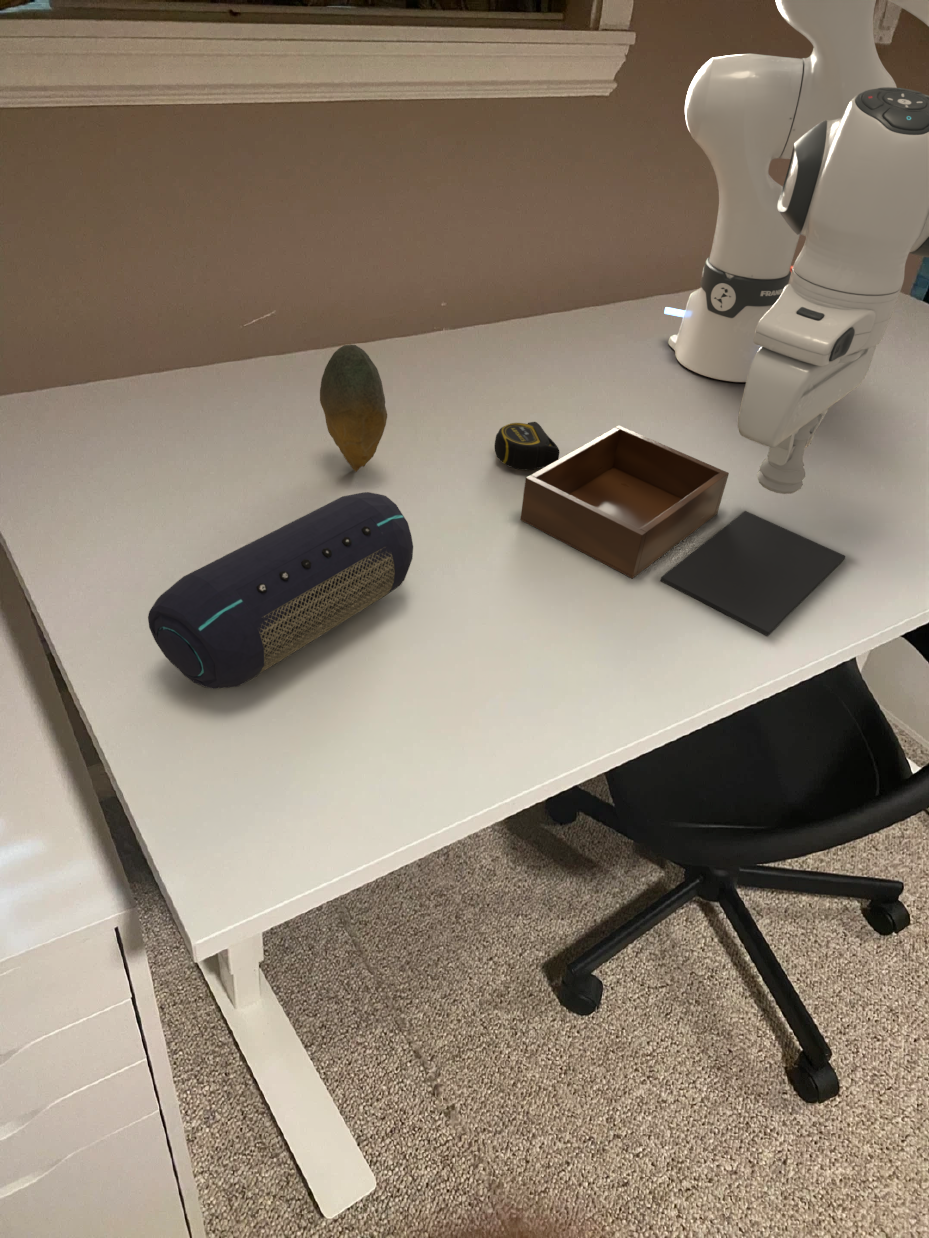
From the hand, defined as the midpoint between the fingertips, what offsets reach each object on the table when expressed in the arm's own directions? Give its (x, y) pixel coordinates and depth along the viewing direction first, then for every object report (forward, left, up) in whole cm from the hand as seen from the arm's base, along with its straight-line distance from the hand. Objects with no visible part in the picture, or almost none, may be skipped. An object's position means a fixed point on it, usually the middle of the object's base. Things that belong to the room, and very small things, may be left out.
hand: (788, 453), depth 87 cm
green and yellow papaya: (+17, -42, -14) cm, 47 cm away
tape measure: (0, -30, -14) cm, 33 cm away
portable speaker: (+40, -25, -14) cm, 49 cm away
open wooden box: (+2, -15, -14) cm, 20 cm away
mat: (0, 0, -14) cm, 14 cm away
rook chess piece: (0, 0, -4) cm, 4 cm away
